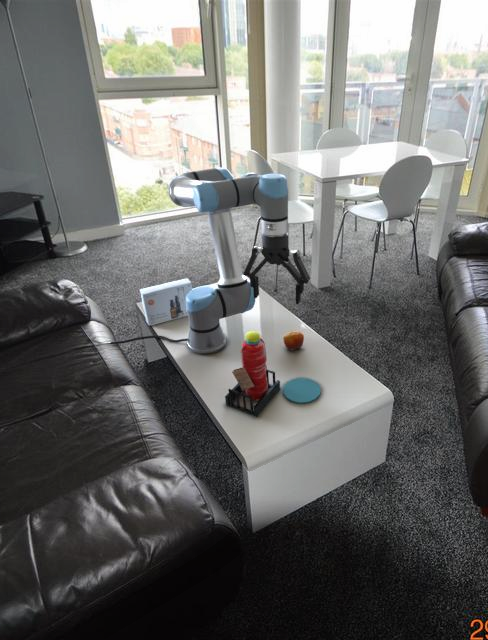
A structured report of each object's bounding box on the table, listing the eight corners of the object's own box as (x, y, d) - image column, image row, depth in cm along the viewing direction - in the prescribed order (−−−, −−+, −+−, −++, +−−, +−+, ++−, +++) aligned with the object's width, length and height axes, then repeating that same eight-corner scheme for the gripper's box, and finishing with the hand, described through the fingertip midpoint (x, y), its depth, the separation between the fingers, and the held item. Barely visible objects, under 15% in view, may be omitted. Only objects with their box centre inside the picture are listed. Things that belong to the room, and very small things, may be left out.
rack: (226, 405, 146) (223, 388, 142) (251, 379, 157) (249, 363, 153) (256, 417, 141) (255, 400, 137) (280, 389, 152) (279, 372, 148)
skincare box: (149, 327, 188) (142, 294, 179) (146, 321, 192) (138, 288, 183) (196, 314, 197) (191, 281, 188) (192, 308, 200) (187, 277, 192)
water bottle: (245, 411, 144) (239, 348, 130) (232, 398, 149) (225, 337, 135) (274, 395, 150) (272, 334, 136) (261, 384, 155) (257, 323, 141)
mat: (276, 396, 150) (276, 394, 149) (294, 375, 159) (294, 373, 159) (310, 408, 144) (310, 407, 144) (326, 385, 154) (326, 384, 153)
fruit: (291, 353, 167) (286, 333, 167) (284, 353, 175) (278, 334, 174) (310, 348, 170) (305, 328, 170) (301, 348, 178) (296, 328, 177)
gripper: (228, 233, 124) (235, 299, 136) (314, 242, 118) (313, 310, 130) (239, 224, 130) (244, 288, 142) (321, 232, 124) (319, 298, 136)
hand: (277, 299), depth 136 cm, fingers open, 13 cm apart
